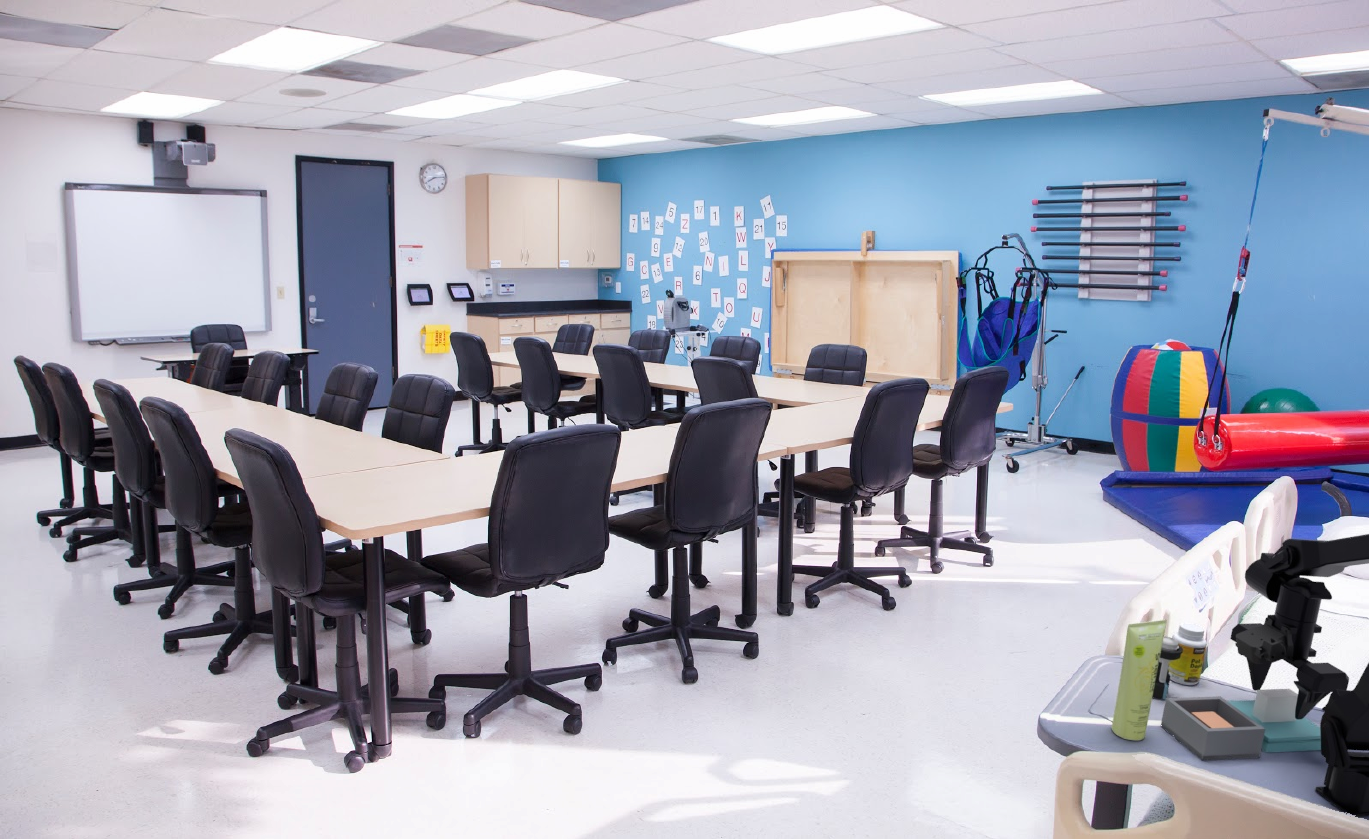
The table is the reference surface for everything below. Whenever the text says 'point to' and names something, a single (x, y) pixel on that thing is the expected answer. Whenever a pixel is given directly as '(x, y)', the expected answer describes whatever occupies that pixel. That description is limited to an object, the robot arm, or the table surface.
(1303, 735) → the lid
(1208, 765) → the table surface
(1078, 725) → the table surface
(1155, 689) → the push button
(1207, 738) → the storage box
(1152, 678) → the tube
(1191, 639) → the supplement bottle
